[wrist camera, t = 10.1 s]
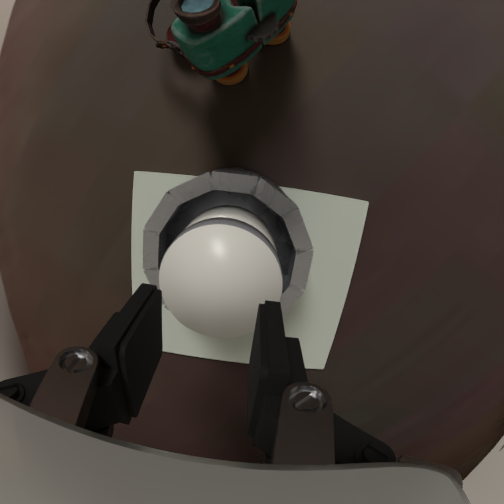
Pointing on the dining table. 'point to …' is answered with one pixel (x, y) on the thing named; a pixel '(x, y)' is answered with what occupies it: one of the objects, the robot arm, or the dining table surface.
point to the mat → (314, 297)
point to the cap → (221, 272)
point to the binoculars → (224, 33)
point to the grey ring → (238, 194)
